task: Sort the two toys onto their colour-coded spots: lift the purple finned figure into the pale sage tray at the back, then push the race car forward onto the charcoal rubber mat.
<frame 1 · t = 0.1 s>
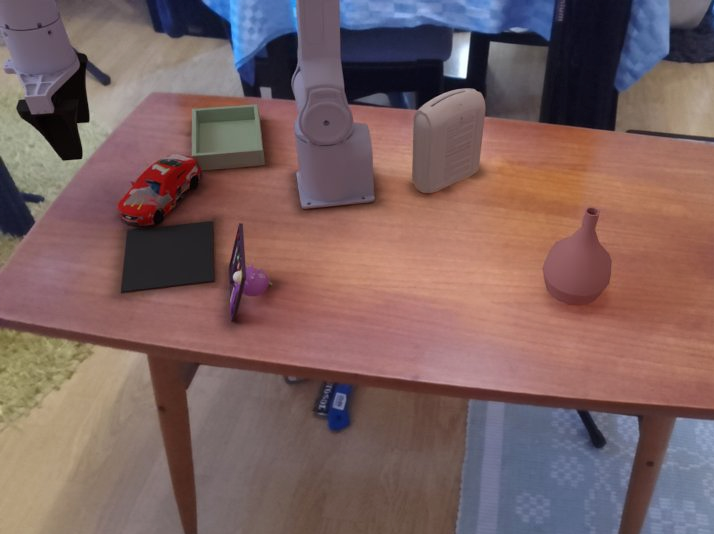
hand: (76, 139, 78), 10 cm above the table, tool pointing down, fingers open, 7 cm apart
sage tray: (229, 143, 97), on the table
race car: (163, 201, 87), on the table, touching charcoal mat
charcoal mat: (169, 255, 80), on the table
brown bulb vase: (570, 295, 80), on the table
purple finned figure: (251, 293, 77), on the table
photo printer: (445, 179, 94), on the table
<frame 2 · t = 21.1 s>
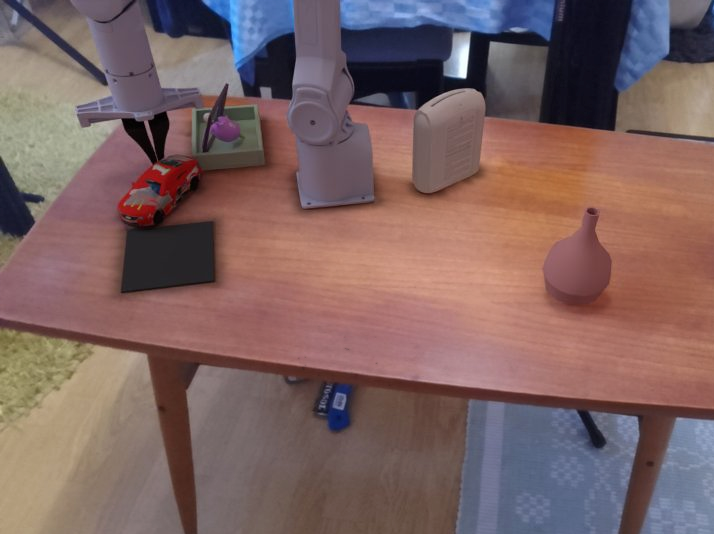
hand: (158, 164, 90), 1 cm above the table, tool pointing down, fingers closed
race car: (164, 201, 87), on the table, touching gripper
purple finned figure: (227, 142, 96), resting on sage tray
everything else where it was.
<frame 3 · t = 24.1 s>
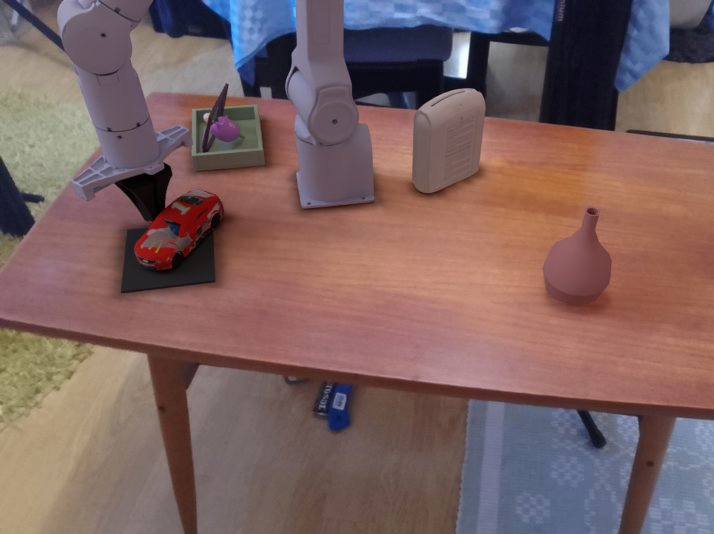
hand: (154, 219, 83), 1 cm above the table, tool pointing down, fingers closed
race car: (183, 240, 82), resting on charcoal mat, touching gripper
everything else where it was.
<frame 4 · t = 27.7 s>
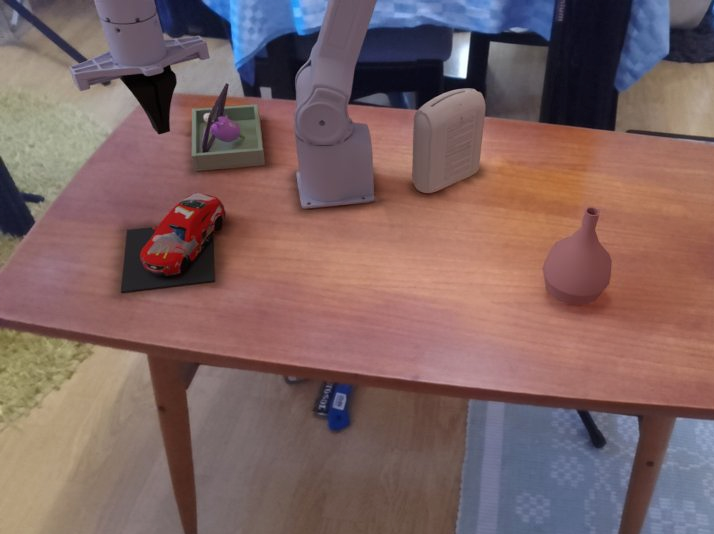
hand: (161, 129, 81), 9 cm above the table, tool pointing down, fingers closed
race car: (187, 244, 82), resting on charcoal mat
everything else where it was.
at the end: purple finned figure inside the target area in the sage tray (0.2 cm from its centre), point 0.2 cm above the sage tray's base; race car inside the target area on the charcoal mat (2.6 cm from its centre), point 0.0 cm above the charcoal mat's base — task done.
